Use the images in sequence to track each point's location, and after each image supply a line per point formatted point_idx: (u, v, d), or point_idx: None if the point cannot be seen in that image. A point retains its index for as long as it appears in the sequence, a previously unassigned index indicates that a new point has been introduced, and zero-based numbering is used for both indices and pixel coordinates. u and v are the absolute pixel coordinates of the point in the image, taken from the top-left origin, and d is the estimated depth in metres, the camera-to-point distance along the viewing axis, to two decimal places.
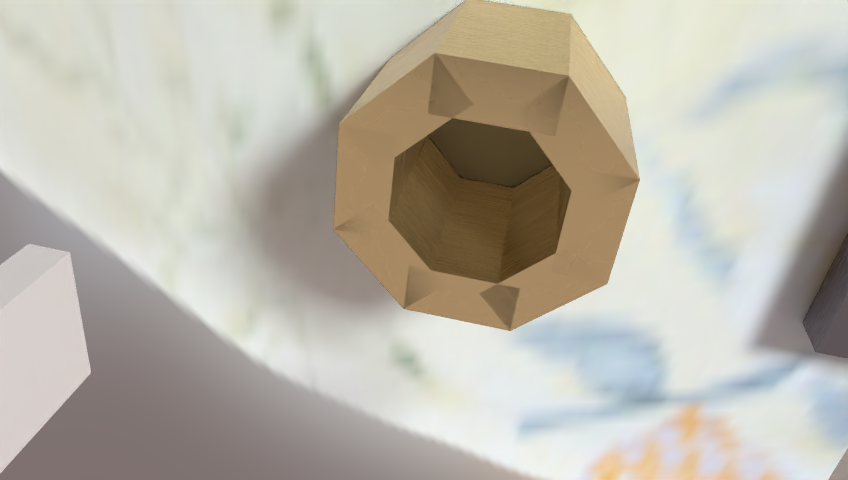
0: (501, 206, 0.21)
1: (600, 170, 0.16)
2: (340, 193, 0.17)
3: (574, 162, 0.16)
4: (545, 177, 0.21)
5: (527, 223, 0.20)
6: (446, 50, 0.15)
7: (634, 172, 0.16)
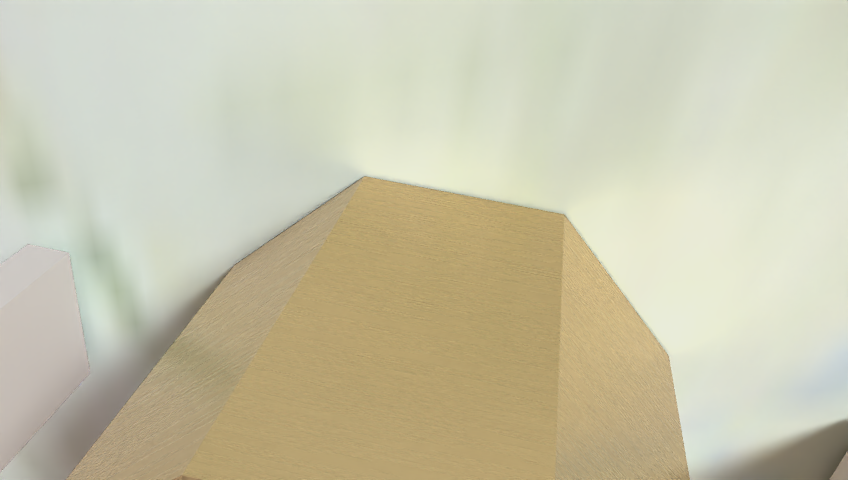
0: None
1: None
2: None
3: None
4: None
5: None
6: (223, 451, 0.06)
7: None
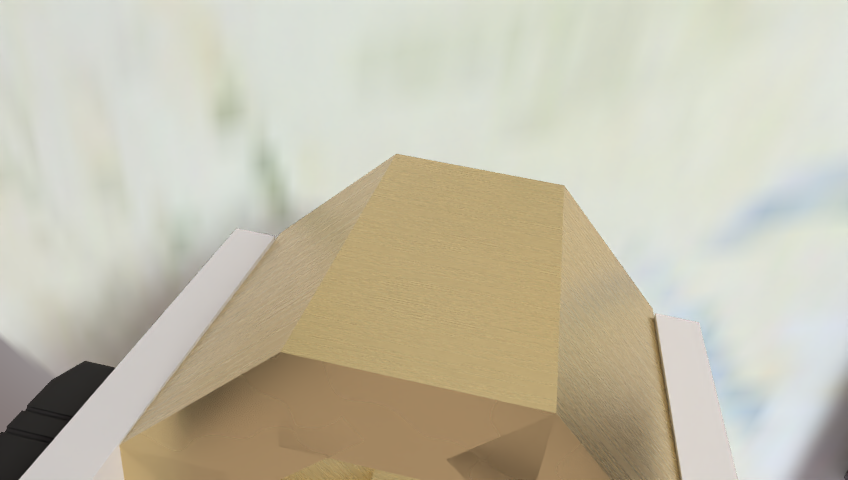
0: None
1: None
2: None
3: None
4: None
5: None
6: (308, 338, 0.08)
7: None
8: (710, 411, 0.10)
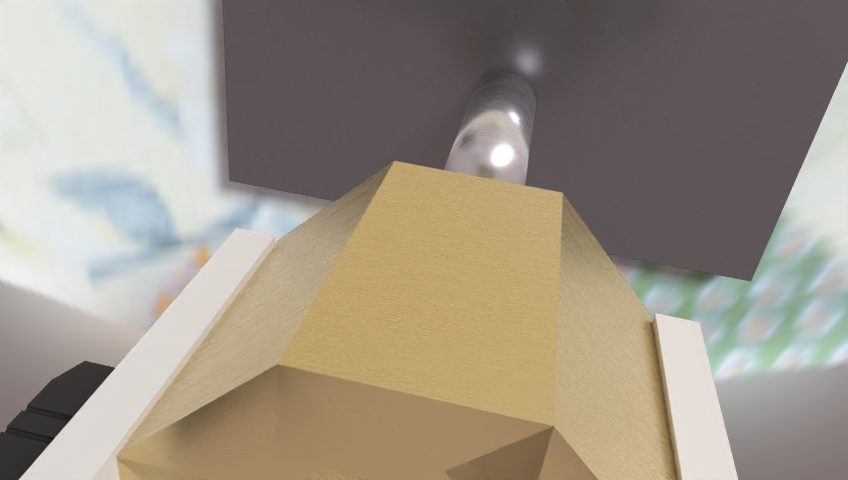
0: None
1: None
2: None
3: None
4: None
5: None
6: (305, 350, 0.07)
7: None
8: (710, 411, 0.10)
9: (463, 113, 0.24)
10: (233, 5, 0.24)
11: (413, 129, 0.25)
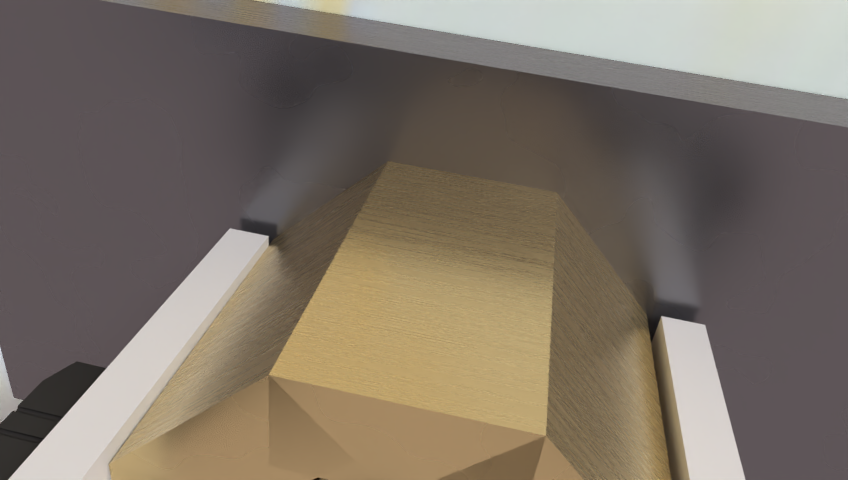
0: None
1: None
2: None
3: None
4: None
5: None
6: (296, 360, 0.07)
7: None
8: (717, 415, 0.10)
9: None
10: None
11: None
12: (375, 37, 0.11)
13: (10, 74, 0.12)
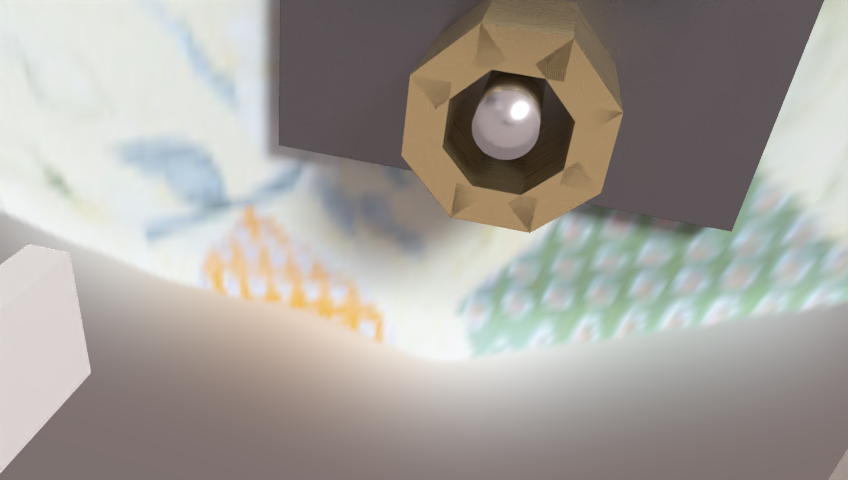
0: None
1: (595, 106, 0.22)
2: (408, 127, 0.24)
3: (577, 100, 0.22)
4: (554, 127, 0.28)
5: (542, 157, 0.26)
6: (488, 21, 0.22)
7: (619, 107, 0.22)
8: None
9: (484, 84, 0.28)
10: None
11: None
12: None
13: None
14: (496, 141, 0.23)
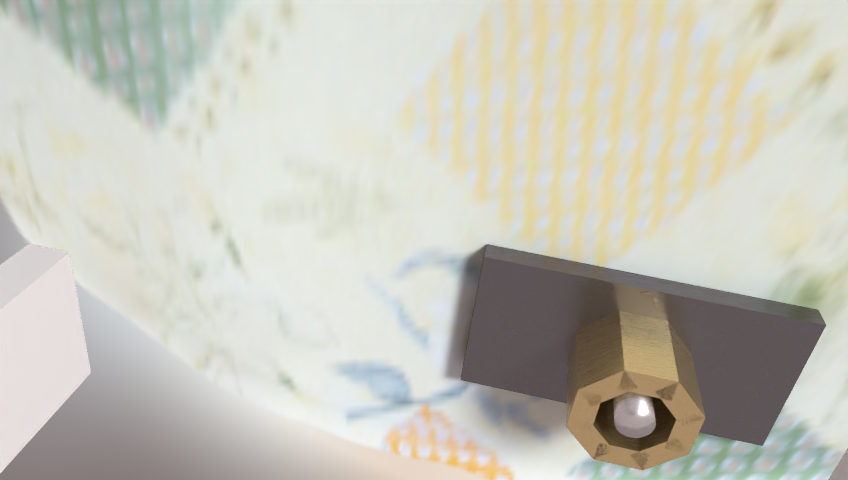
0: None
1: (689, 413, 0.38)
2: (572, 413, 0.40)
3: (678, 410, 0.38)
4: None
5: None
6: (627, 367, 0.38)
7: (703, 414, 0.38)
8: None
9: None
10: (481, 300, 0.44)
11: None
12: (618, 279, 0.42)
13: (507, 283, 0.43)
14: (628, 428, 0.39)
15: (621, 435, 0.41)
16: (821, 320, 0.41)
